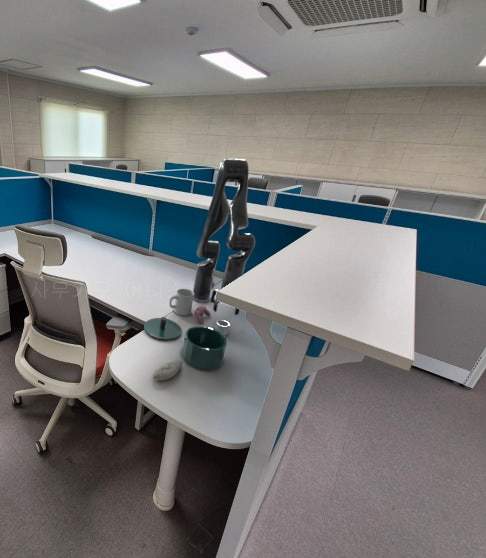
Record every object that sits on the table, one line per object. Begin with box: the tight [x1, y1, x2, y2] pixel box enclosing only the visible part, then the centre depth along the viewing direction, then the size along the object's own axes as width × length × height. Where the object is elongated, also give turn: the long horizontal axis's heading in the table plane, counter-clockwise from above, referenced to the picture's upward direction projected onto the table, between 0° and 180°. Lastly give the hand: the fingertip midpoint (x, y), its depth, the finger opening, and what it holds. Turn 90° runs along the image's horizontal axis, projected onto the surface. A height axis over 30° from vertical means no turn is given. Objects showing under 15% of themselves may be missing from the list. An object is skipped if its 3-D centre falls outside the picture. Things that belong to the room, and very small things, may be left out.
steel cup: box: [214, 319, 230, 337], centre depth 137 cm, size 6×6×5 cm
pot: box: [181, 325, 228, 371], centre depth 119 cm, size 16×16×10 cm
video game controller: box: [193, 305, 212, 325], centre depth 147 cm, size 10×5×7 cm, turn 141°
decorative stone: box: [152, 359, 183, 382], centre depth 111 cm, size 6×16×3 cm, turn 133°
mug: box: [168, 288, 194, 317], centre depth 151 cm, size 12×8×11 cm
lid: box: [143, 316, 182, 341], centre depth 137 cm, size 17×17×6 cm
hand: (225, 312), depth 133 cm, fingers open, 8 cm apart
